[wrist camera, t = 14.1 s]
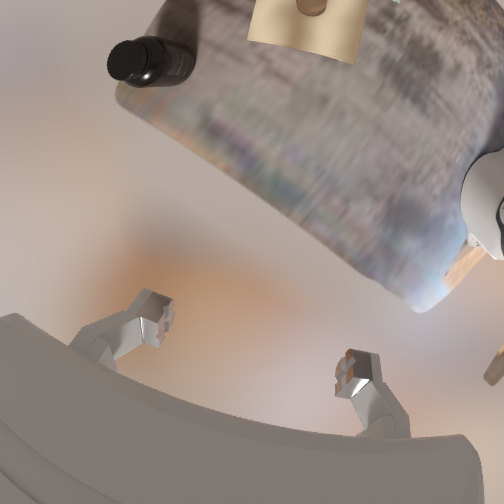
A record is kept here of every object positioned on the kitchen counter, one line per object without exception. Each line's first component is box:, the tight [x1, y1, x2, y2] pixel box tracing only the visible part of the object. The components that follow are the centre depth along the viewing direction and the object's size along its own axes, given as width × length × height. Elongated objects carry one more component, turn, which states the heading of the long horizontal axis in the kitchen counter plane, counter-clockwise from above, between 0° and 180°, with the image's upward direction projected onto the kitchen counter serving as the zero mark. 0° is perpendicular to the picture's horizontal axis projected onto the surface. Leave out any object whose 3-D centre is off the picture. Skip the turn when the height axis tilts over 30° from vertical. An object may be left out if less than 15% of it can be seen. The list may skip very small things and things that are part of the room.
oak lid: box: [247, 0, 369, 64], centre depth 18 cm, size 12×12×5 cm
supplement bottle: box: [107, 36, 194, 88], centre depth 26 cm, size 7×7×12 cm
